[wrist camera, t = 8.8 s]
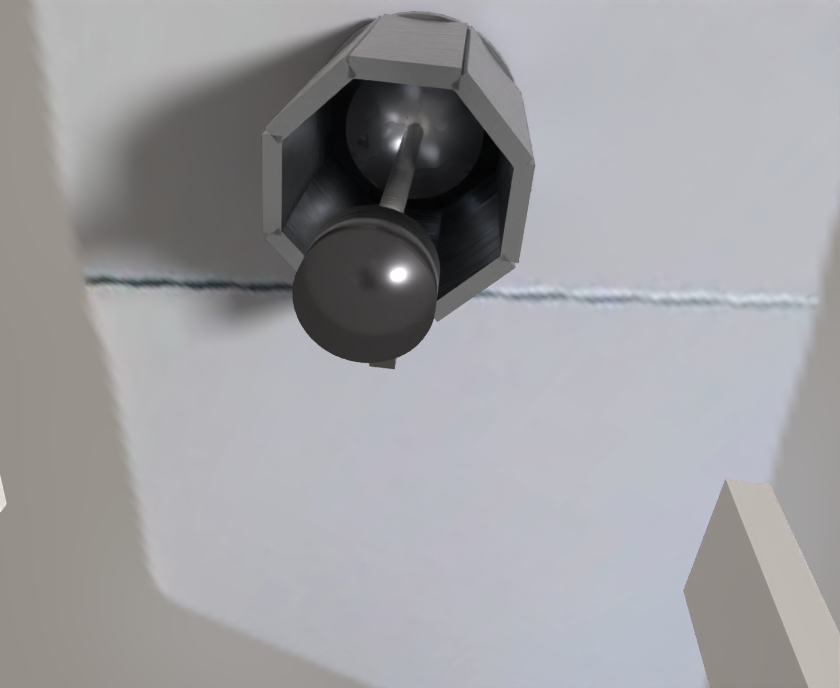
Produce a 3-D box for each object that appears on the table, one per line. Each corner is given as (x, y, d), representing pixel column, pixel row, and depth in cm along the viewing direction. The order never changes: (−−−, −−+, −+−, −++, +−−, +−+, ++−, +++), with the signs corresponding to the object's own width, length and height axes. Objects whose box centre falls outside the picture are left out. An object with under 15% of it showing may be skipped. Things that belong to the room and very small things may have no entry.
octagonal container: (319, -1, 41) (256, 39, 29) (536, 24, 41) (556, 73, 29) (312, 253, 48) (258, 364, 36) (496, 275, 48) (500, 393, 36)
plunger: (351, 50, 40) (245, 172, 22) (492, 66, 40) (498, 201, 22) (344, 186, 44) (248, 386, 26) (474, 201, 44) (466, 411, 26)
